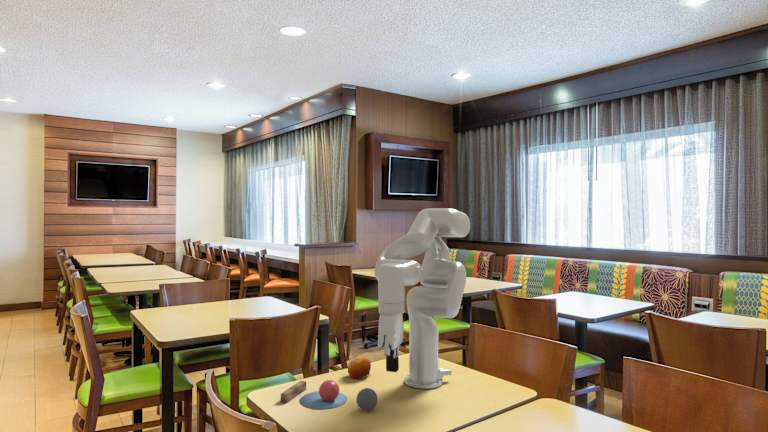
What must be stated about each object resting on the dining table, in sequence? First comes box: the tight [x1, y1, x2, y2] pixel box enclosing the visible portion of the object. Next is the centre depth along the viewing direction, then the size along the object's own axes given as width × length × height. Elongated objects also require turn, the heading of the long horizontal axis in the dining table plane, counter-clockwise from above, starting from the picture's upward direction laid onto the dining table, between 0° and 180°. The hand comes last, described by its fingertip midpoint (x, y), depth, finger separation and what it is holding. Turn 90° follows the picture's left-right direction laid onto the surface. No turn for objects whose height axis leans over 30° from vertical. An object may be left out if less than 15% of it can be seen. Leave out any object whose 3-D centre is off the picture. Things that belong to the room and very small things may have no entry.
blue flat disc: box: [299, 390, 348, 410], centre depth 145 cm, size 14×14×1 cm
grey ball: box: [356, 387, 378, 412], centre depth 138 cm, size 6×6×6 cm
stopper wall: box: [280, 380, 307, 404], centre depth 148 cm, size 12×2×2 cm, turn 161°
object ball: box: [318, 379, 340, 402], centre depth 144 cm, size 6×6×6 cm
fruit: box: [347, 355, 372, 380], centre depth 166 cm, size 8×8×8 cm
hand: (392, 370), depth 139 cm, fingers closed
